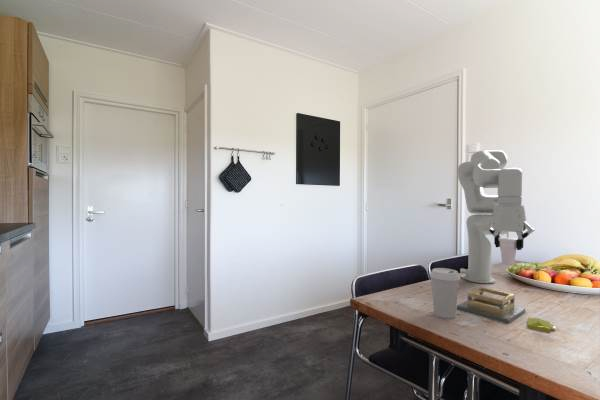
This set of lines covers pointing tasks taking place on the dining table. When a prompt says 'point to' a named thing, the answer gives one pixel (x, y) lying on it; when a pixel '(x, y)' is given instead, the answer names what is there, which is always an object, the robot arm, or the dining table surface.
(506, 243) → the smoothie
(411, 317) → the dining table surface
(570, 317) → the dining table surface
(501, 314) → the collar stand
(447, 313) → the coffee cup
